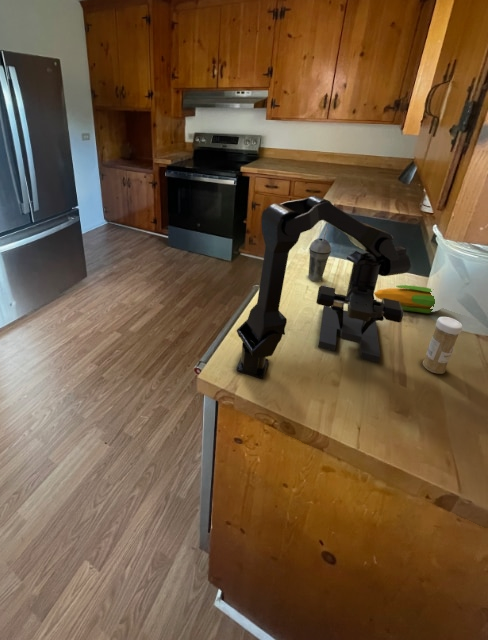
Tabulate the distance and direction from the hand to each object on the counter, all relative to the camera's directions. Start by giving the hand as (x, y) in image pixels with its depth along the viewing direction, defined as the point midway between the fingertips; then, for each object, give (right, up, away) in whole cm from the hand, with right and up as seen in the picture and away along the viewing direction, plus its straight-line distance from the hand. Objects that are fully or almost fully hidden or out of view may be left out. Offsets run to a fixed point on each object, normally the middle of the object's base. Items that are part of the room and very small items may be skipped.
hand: (350, 330), depth 85 cm
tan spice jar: (+17, -8, -5) cm, 20 cm away
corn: (+27, +2, +19) cm, 33 cm away
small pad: (0, -1, 0) cm, 1 cm away
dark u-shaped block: (+2, -3, +6) cm, 7 cm away
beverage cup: (+5, +9, +36) cm, 37 cm away
